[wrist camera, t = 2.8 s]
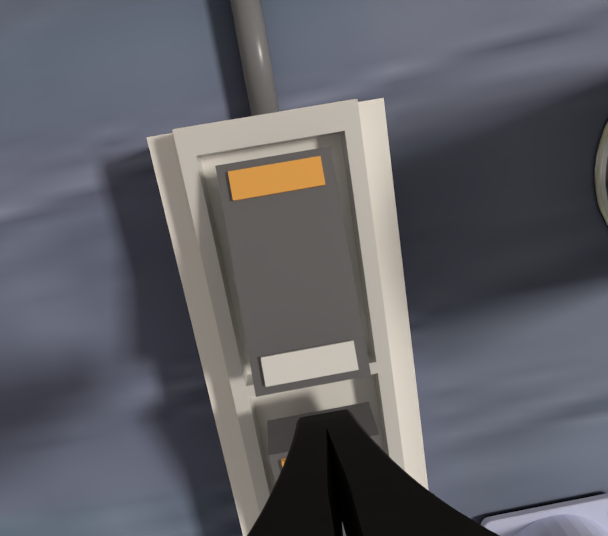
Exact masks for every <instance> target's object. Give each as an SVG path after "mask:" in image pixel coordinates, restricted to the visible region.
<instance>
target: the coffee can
mask: <svg viewBox="0 0 608 536" xmlns="http://www.w3.org/2000/svg"><path fill="white" fill-rule="evenodd" d="M595 190H596V197H597V202H598V205H599V209H600V211H601V213H602V215H603V217H604V219H605V222H606V224H607V225H608V121H607V123H606V125H605V127H604V130H603V134H602V137H601V139H600V142H599V146H598V150H597V155H596V162H595Z"/></svg>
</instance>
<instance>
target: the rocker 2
mask: <svg viewBox="0 0 608 536" xmlns="http://www.w3.org/2000/svg"><path fill="white" fill-rule="evenodd" d="M344 409H347V410H349V411H350V412H351V413H352V414H353V416H354V417H355V419H356V420H357V421H358V423H359V424H360V425H361V426H362V428H363V429H364V430H365V431H366V432H367V434H368V435H369V436H370V437H371V438H372V439H373V440H374V441H375V443H376V444H377V445H378V446H379V447H380V448H381V446H380V434H379V431H378V428H377V425H376V422H375V419H374V416H373V413H372V410H371V407H370V404H369V402H364V403H358V404H353V405H348V406H342V407H337V408H332V409H326V410H321V411H316V412H310V413H305V414H300V415H294V416H289V417H284V418H278V419H273V420H268V421H267V431H268V456H269V460H270V463H271V467H272V471H273V475H274V478H275V482H276V481H277V479H278V477H279V475H280V473H281V470H282V468H283V465H284V463H285V460H286V457H287V455H288V452H289V449H290V446H291V443H292V440H293V437H294V433H295V429H296V423H297V421H298V420H299V418H300V417H305V416H310V415H316V414H322V413H327V412H333V411H339V410H344ZM342 529H343V536H346V534H345V530H344V526H343V523H342Z"/></svg>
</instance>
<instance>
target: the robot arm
mask: <svg viewBox="0 0 608 536" xmlns="http://www.w3.org/2000/svg"><path fill="white" fill-rule="evenodd" d="M342 523H343V526H344V530H345V534H346V536H608V493H606V494H601V495H596V496H591V497H586V498H581V499H576V500H571V501H566V502H561V503H556V504H551V505H545V506H540V507H535V508H530V509H525V510H520V511H515V512H510V513H505V514H500V515H495V516H490V517H486V518H484V519H483V520H482V522H481V525H480V524H478V523H477V522H475V521H473V520H472V519H470V518H468V517H467V516H465V515H463V514H462V513H460V512H458V511H457V510H455V509H454V508H452V507H451V506H449V505H448V504H446V503H445V502H443V501H442V500H441V499H439V498H438V497H436V496H435V495H434V494H432V493H431V492H430V491H428V490H427V489H426V488H425V487H423V486H422V485H421V484H419V483H418V482H417V481H416V480H415V479H413V478H412V477H411V476H410V475H409V474H408V473H407V472H405V471H404V470H403V469H402V468H401V467H400V466H399V465H398V464H396V463H395V462H394V461H393V460H392V459H391V458H390V457H389V456H388V455H387V454H386V453H385V452H384V451H383V450H382V449H381V448H380V447H379V446H378V445H377V444H376V443H375V441H374V440H373V439H372V438H371V437H370V436H369V435H368V434H367V432H366V431H365V430H364V429H363V428H362V426H361V425H360V424H359V423H358V421H357V420H356V419H355V417H354V416H353V414H352V413H351V412H350V411H349V410H347V409H344V410H339V411H333V412H327V413H322V414H316V415H310V416H305V417H300V418H299V420H298V421H297V423H296V429H295V433H294V437H293V440H292V443H291V446H290V449H289V452H288V455H287V457H286V460H285V463H284V465H283V468H282V470H281V473H280V475H279V477H278V479H277V481H276V484H275V486H274V488H273V490H272V492H271V494H270V496H269V498H268V500H267V502H266V504H265V506H264V508H263V510H262V511H261V513H260V515H259V517H258V518H257V520H256V522H255V523H254V525H253V527H252V528H251V530H250V532H249V533H248V535H247V536H343V529H342Z"/></svg>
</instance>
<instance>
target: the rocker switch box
mask: <svg viewBox="0 0 608 536" xmlns="http://www.w3.org/2000/svg"><path fill="white" fill-rule="evenodd" d="M230 3H231V9H232V14H233V20H234V25H235V31H236V36H237V41H238V47H239V52H240V58H241V63H242V68H243V74H244V79H245V85H246V90H247V96H248V101H249V106H250V112H251V116H250V117H244V118H238V119H232V120H226V121H220V122H214V123H208V124H202V125H196V126H190V127H184V128H178V129H172V131H173V133H170V134H164V135H158V136H152V137H147V141H148V145H149V150H150V154H151V158H152V162H153V166H154V170H155V174H156V179H157V183H158V187H159V191H160V195H161V199H162V203H163V207H164V212H165V216H166V220H167V224H168V228H169V232H170V236H171V240H172V245H173V249H174V253H175V257H176V261H177V265H178V269H179V274H180V278H181V282H182V286H183V290H184V294H185V298H186V302H187V307H188V311H189V315H190V319H191V323H192V327H193V331H194V335H195V340H196V344H197V348H198V352H199V356H200V360H201V364H202V368H203V373H204V377H205V381H206V385H207V389H208V393H209V397H210V402H211V406H212V410H213V414H214V418H215V422H216V426H217V430H218V435H219V439H220V443H221V447H222V451H223V455H224V459H225V463H226V468H227V472H228V476H229V480H230V484H231V488H232V492H233V496H234V501H235V505H236V509H237V513H238V517H239V521H240V525H241V530H242V534H243V536H247V535H248V533H249V532H250V530H251V528H252V527H253V525H254V523H255V522H256V520H257V518H258V517H259V515H260V513H261V511H262V510H263V508H264V506H265V504H266V502H267V500H268V498H269V496H270V494H271V492H272V490H273V488H274V486H275V484H276V482H275V478H274V475H273V471H272V467H271V463H270V460H269V456H268V431H267V421H268V420H273V419H278V418H284V417H289V416H294V415H300V414H305V413H310V412H316V411H321V410H326V409H332V408H337V407H342V406H348V405H353V404H358V403H364V402H369V404H370V407H371V410H372V413H373V416H374V419H375V422H376V425H377V428H378V431H379V434H380V446H381V449H382V450H383V451H384V452H385V453H386V454H387V455H388V456H389V457H390V458H391V459H392V460H393V461H394V462H395V463H396V464H398V465H399V466H400V467H401V468H402V469H403V470H404V471H405V472H407V473H408V474H409V475H410V476H411V477H412V478H413V479H415V480H416V481H417V482H418V483H419V484H421V485H422V486H423V487H425V488H426V489H427V490H428V483H427V474H426V465H425V456H424V448H423V439H422V430H421V421H420V413H419V404H418V395H417V386H416V378H415V369H414V360H413V351H412V343H411V334H410V325H409V316H408V308H407V299H406V290H405V281H404V273H403V264H402V255H401V246H400V238H399V229H398V220H397V211H396V203H395V194H394V185H393V176H392V168H391V159H390V150H389V141H388V133H387V124H386V115H385V106H384V98H380V99H374V100H368V101H362V102H358V99H352V100H346V101H340V102H334V103H328V104H322V105H316V106H310V107H304V108H298V109H292V110H286V111H280V112H279V108H278V102H277V96H276V90H275V84H274V78H273V72H272V66H271V61H270V55H269V49H268V43H267V37H266V31H265V25H264V19H263V13H262V8H261V2H260V0H230ZM329 146H330V148H331V154H332V160H333V165H334V171H335V176H336V182H337V188H338V193H339V199H340V204H341V210H342V215H343V221H344V227H345V232H346V238H347V243H348V249H349V254H350V260H351V266H352V271H353V277H354V282H355V288H356V293H357V299H358V305H359V310H360V316H361V321H362V327H363V333H364V338H365V344H366V349H367V355H368V360H369V366H370V372H371V376H366V377H360V378H355V379H349V380H344V381H339V382H333V383H328V384H323V385H317V386H312V387H306V388H301V389H296V390H290V391H285V392H279V393H274V394H269V395H263V396H258V397H256V395H255V389H254V383H253V378H252V372H251V366H250V361H249V355H248V349H247V344H246V338H245V332H244V327H243V321H242V315H241V310H240V304H239V298H238V292H237V287H236V281H235V275H234V270H233V264H232V258H231V253H230V247H229V241H228V236H227V230H226V224H225V219H224V213H223V207H222V201H221V196H220V190H219V184H218V179H217V173H216V167H215V166H217V165H223V164H229V163H235V162H240V161H246V160H252V159H258V158H264V157H270V156H276V155H282V154H288V153H294V152H299V151H305V150H311V149H317V148H323V147H329Z"/></svg>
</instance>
